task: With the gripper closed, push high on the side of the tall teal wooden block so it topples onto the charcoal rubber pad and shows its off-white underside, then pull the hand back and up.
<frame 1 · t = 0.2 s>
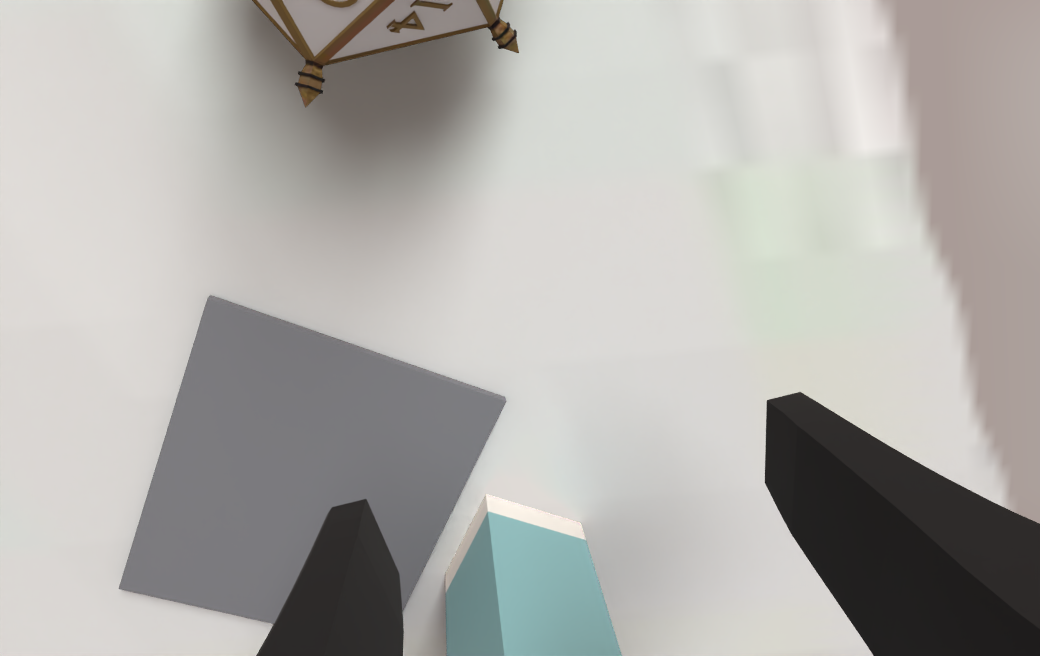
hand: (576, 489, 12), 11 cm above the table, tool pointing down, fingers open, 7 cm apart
teal block: (512, 548, 25), on the table
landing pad: (309, 492, 23), on the table
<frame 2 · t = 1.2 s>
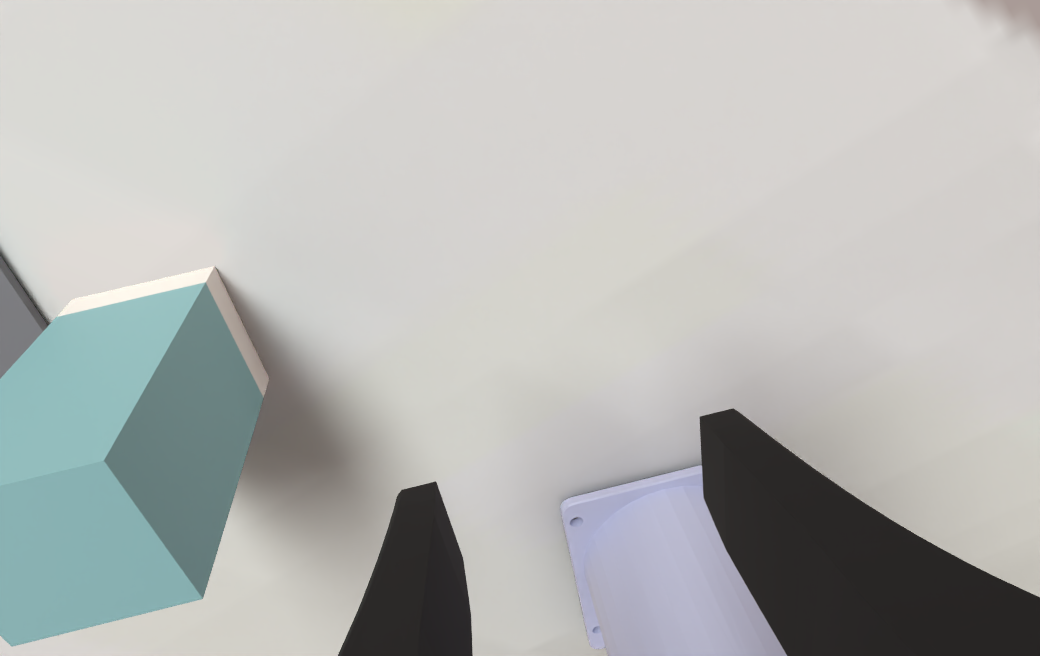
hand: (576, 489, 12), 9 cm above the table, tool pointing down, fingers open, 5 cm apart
teal block: (176, 341, 19), on the table
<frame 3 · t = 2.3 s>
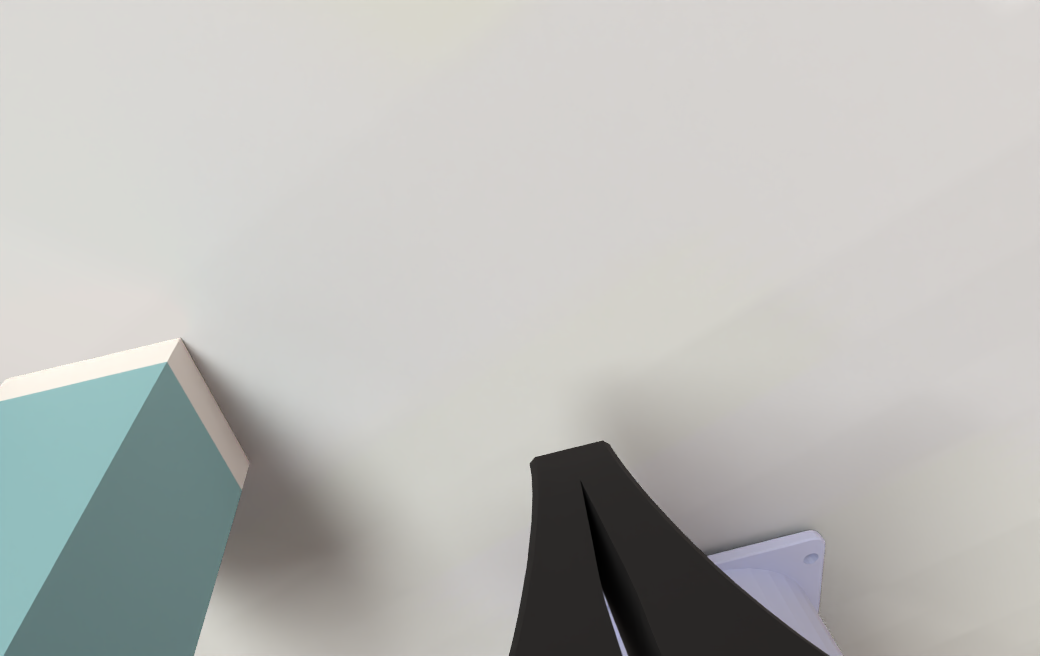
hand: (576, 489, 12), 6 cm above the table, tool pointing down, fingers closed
teal block: (136, 423, 16), on the table
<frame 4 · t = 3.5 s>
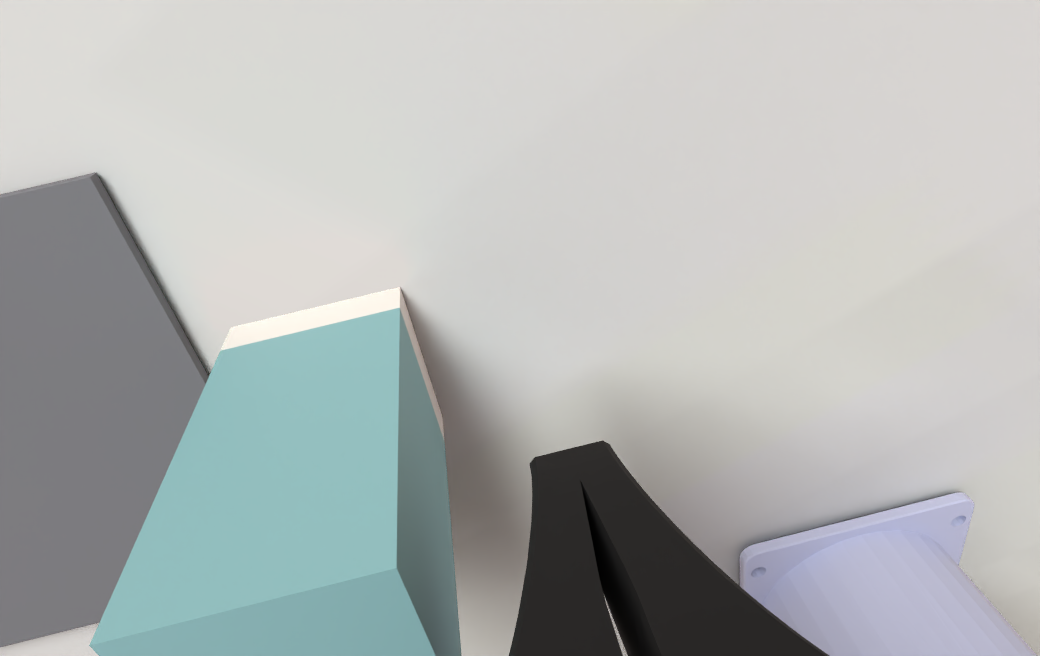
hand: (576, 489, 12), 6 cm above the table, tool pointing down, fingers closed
teal block: (344, 375, 16), on the table
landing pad: (22, 454, 16), on the table
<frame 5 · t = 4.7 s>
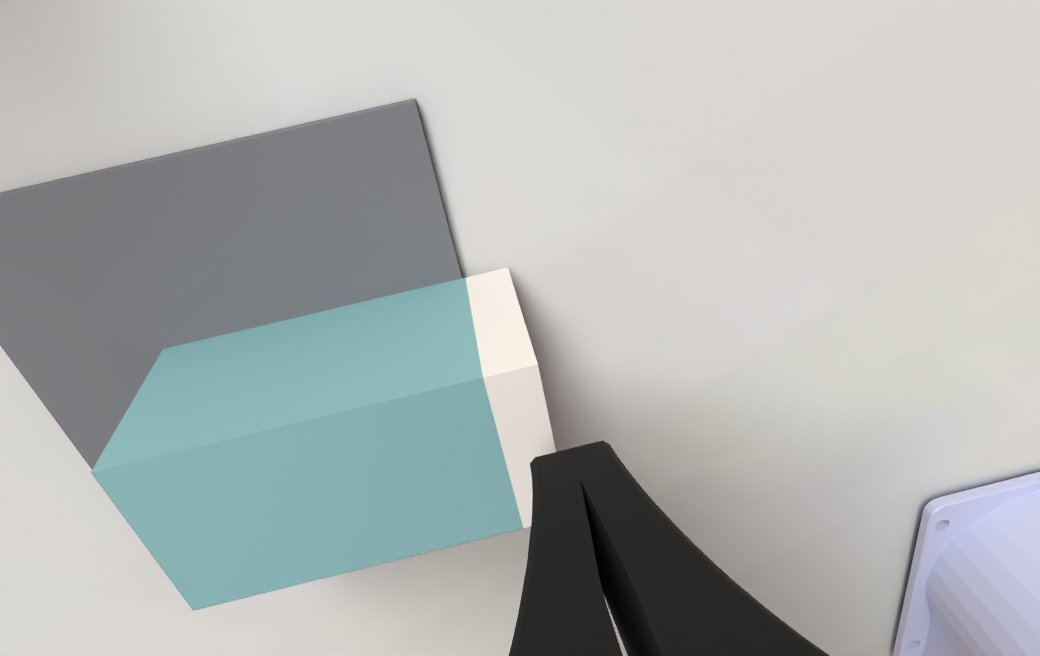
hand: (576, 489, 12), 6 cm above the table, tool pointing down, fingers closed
teal block: (537, 386, 14), point 2 cm above the table, tilted 90°, touching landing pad
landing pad: (281, 390, 16), on the table
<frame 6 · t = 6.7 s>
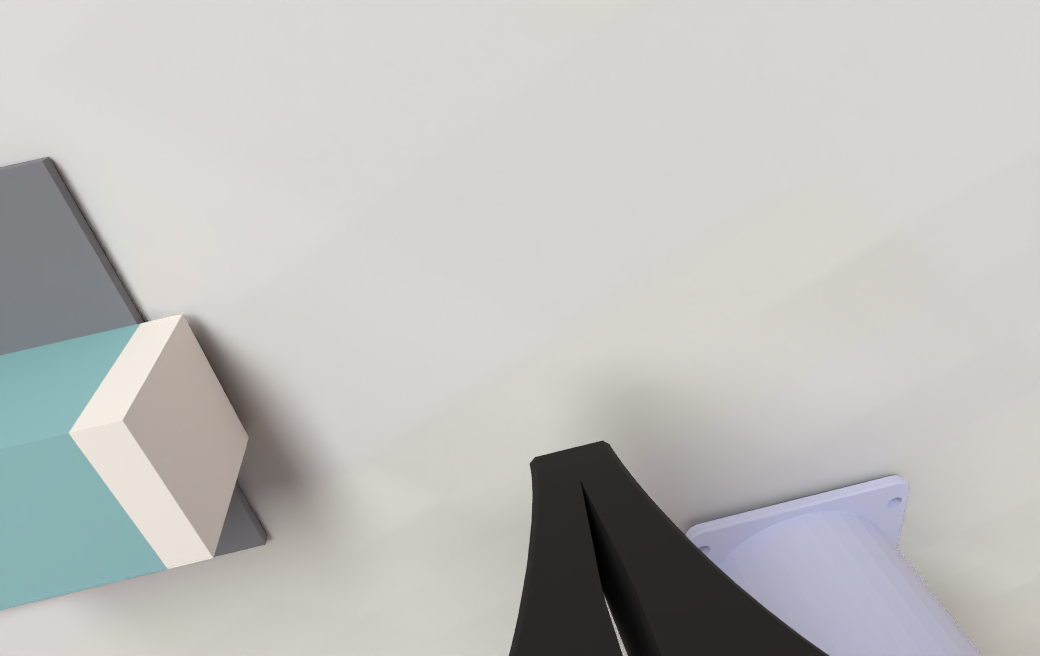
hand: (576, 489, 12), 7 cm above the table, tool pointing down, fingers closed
teal block: (197, 430, 15), point 2 cm above the table, tilted 90°, touching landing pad
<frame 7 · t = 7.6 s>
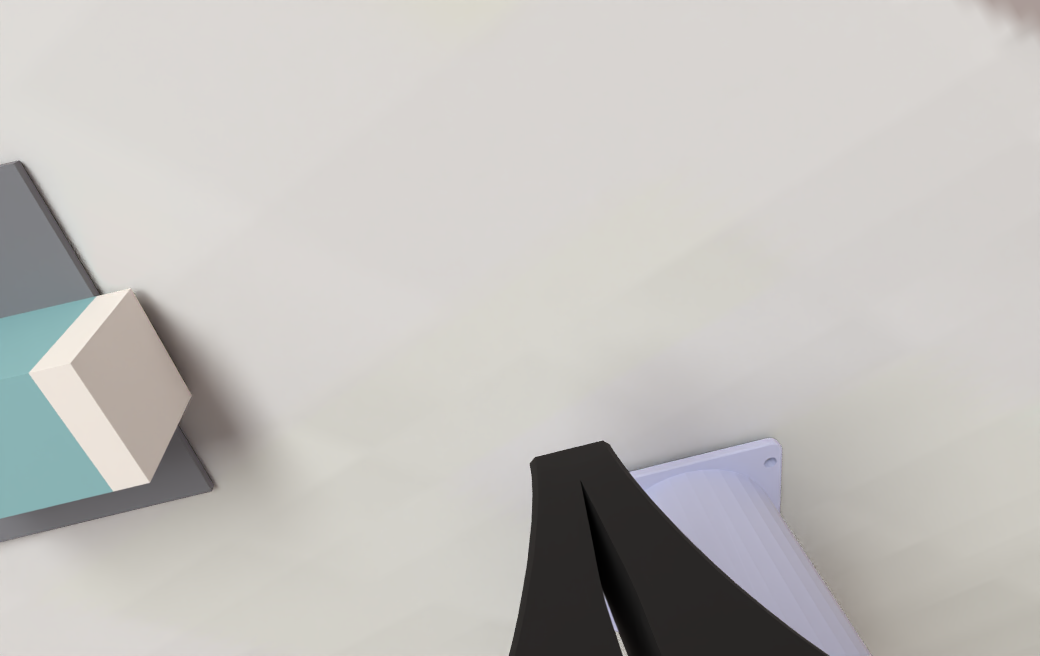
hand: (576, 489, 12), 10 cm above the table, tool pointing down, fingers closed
teal block: (140, 381, 18), point 2 cm above the table, tilted 90°, touching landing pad
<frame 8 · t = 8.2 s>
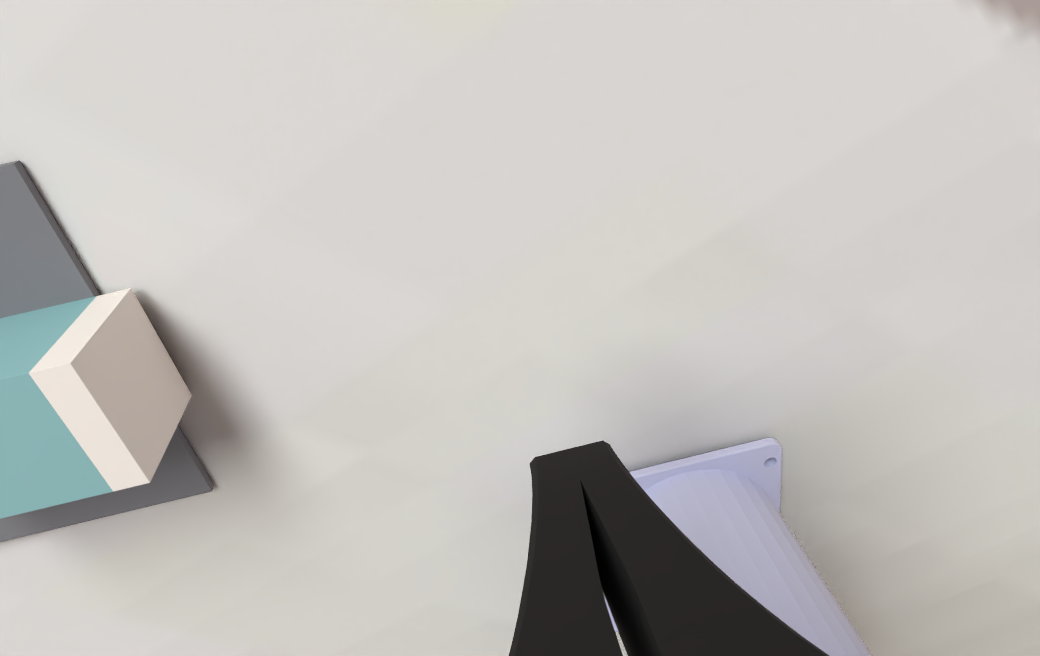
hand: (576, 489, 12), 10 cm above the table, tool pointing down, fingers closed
teal block: (140, 381, 18), point 2 cm above the table, tilted 90°, touching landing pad
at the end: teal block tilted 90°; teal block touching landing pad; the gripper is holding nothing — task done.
